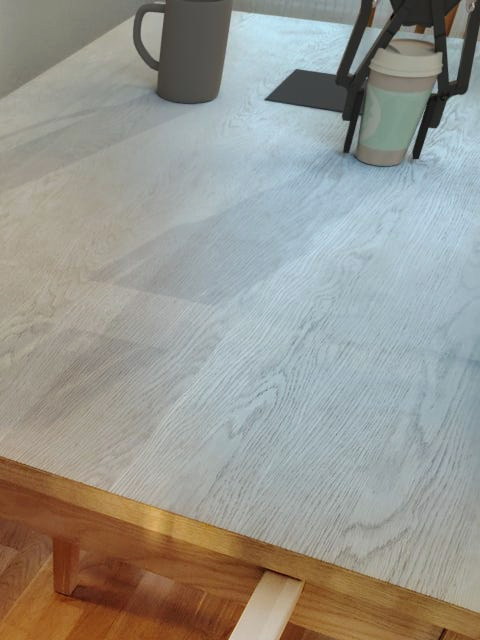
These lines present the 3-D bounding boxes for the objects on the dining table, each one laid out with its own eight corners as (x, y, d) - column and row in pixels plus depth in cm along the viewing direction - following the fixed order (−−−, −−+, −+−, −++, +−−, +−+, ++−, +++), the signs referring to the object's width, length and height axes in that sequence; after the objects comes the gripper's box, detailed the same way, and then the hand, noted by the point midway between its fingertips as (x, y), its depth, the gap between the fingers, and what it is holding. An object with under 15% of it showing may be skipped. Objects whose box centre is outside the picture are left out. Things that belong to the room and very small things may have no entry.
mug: (227, 87, 131) (242, -12, 122) (208, 107, 126) (223, 5, 117) (139, 76, 135) (147, -21, 126) (117, 95, 130) (125, -5, 121)
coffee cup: (353, 141, 116) (380, 33, 108) (420, 151, 114) (455, 41, 105) (336, 163, 111) (364, 52, 103) (407, 175, 109) (442, 61, 100)
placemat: (431, 89, 129) (432, 88, 129) (408, 122, 121) (408, 121, 121) (295, 69, 136) (296, 68, 136) (264, 99, 127) (264, 98, 127)
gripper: (545, -82, 95) (466, 148, 112) (347, -89, 100) (299, 134, 117) (553, -67, 91) (468, 171, 108) (344, -76, 95) (294, 155, 112)
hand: (380, 151), depth 112 cm, fingers closed on coffee cup, 8 cm apart
